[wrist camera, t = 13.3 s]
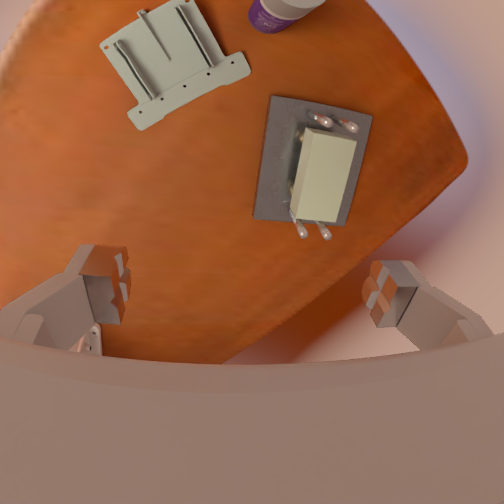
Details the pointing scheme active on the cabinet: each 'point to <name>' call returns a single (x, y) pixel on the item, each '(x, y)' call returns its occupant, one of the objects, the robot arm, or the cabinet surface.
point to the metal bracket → (170, 60)
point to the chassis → (288, 154)
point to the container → (279, 13)
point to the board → (321, 175)
